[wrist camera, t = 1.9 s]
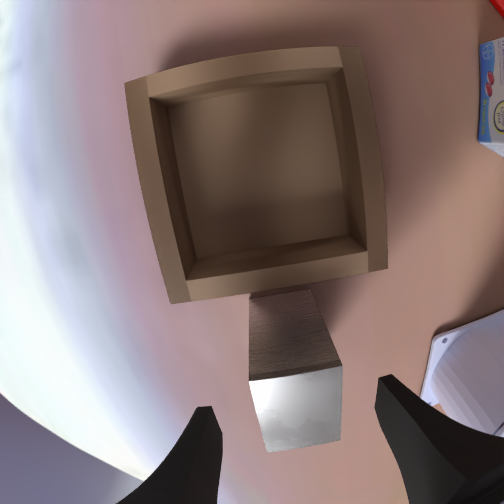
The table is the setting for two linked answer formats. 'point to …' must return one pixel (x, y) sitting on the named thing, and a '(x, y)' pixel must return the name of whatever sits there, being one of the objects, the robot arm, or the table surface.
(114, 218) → the table surface
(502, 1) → the tow hook
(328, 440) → the grey two-tone block
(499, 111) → the medicine box
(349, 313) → the table surface
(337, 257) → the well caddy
